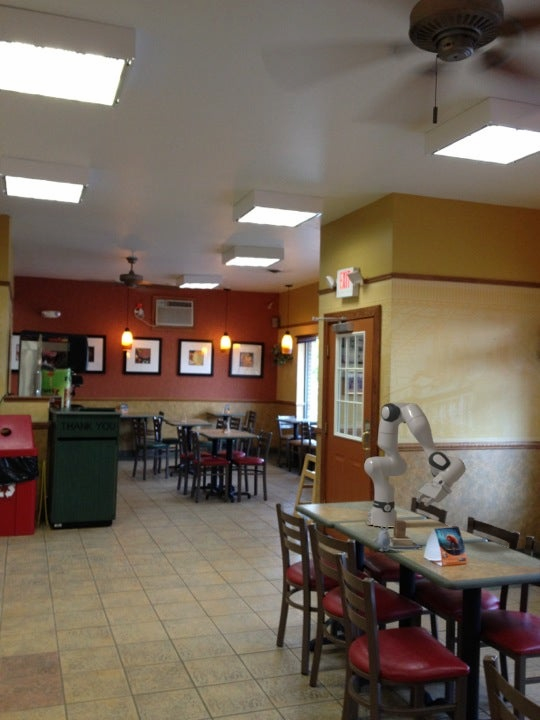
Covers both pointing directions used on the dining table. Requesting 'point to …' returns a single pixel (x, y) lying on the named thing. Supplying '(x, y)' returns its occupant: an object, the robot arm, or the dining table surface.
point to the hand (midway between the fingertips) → (421, 503)
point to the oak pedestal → (401, 541)
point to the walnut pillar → (399, 529)
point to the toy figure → (383, 539)
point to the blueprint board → (405, 546)
